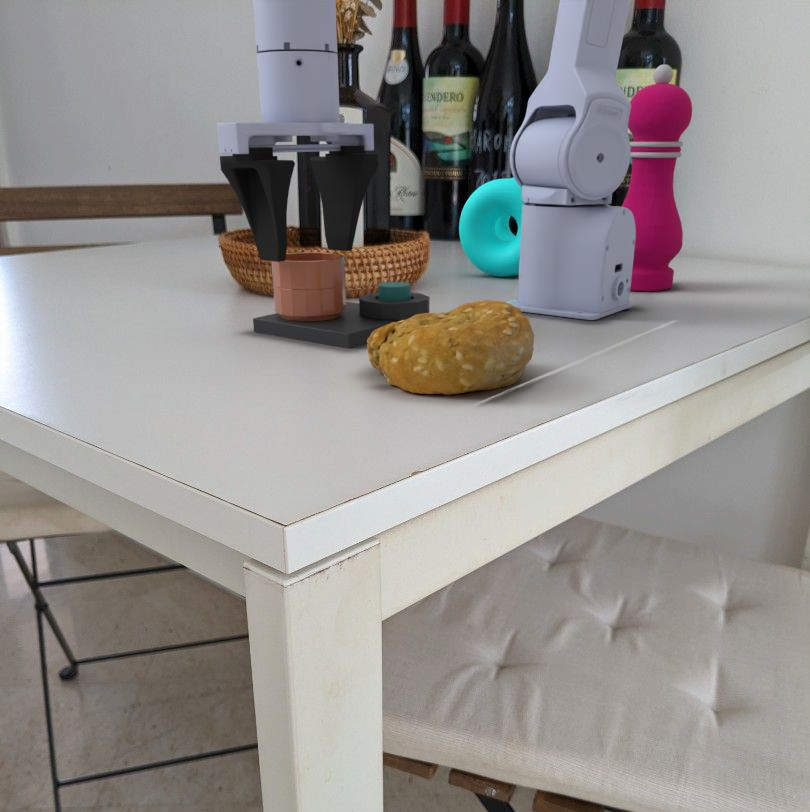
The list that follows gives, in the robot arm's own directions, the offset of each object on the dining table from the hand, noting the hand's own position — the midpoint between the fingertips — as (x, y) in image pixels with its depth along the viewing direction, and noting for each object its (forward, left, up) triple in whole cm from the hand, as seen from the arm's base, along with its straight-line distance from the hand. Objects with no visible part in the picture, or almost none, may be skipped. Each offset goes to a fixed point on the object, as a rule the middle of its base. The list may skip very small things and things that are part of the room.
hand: (307, 255), depth 66 cm
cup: (0, 0, -5) cm, 5 cm away
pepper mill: (-12, -36, -6) cm, 39 cm away
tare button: (-5, -5, -4) cm, 8 cm away
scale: (-2, -1, -6) cm, 6 cm away
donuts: (+4, -37, -6) cm, 38 cm away
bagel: (-17, +6, -6) cm, 19 cm away
